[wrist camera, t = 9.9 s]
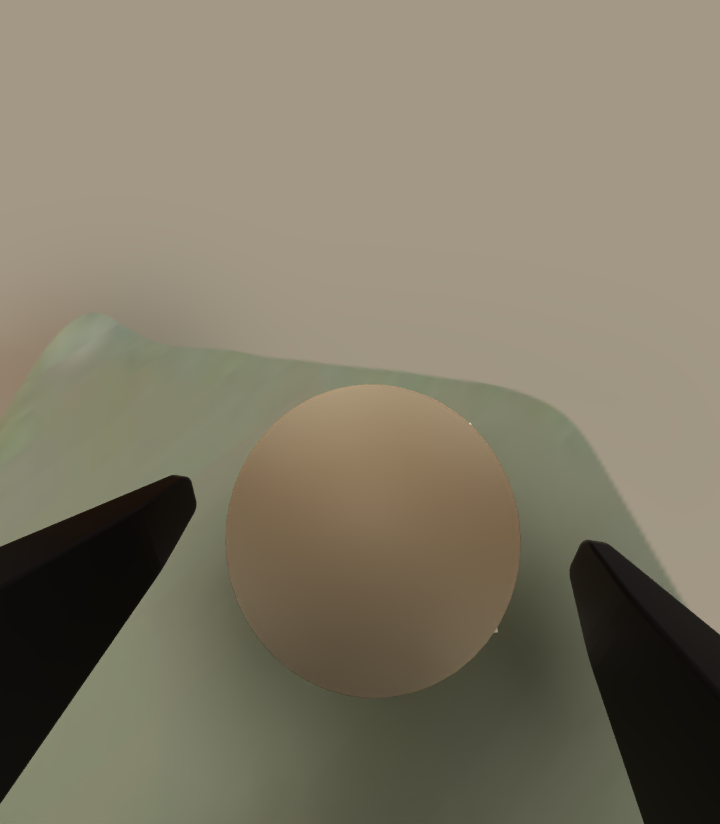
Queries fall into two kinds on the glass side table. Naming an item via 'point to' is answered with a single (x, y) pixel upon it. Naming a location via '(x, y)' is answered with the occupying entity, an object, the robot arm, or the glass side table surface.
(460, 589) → the tan rounded rod
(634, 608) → the robot arm
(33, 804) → the glass side table surface
